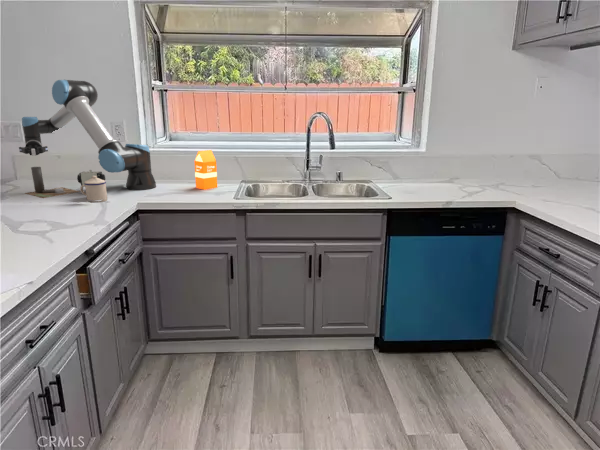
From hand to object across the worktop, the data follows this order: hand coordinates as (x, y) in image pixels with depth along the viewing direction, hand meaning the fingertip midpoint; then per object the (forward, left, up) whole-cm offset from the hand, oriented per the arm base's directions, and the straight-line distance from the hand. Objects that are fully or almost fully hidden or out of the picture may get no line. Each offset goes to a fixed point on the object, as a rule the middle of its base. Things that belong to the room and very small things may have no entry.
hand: (33, 152), depth 202 cm
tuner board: (-11, -1, -20) cm, 22 cm away
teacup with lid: (-38, -6, -20) cm, 43 cm away
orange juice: (-57, -59, -20) cm, 85 cm away
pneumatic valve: (-24, -14, -20) cm, 34 cm away
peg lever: (-9, 0, -19) cm, 21 cm away
